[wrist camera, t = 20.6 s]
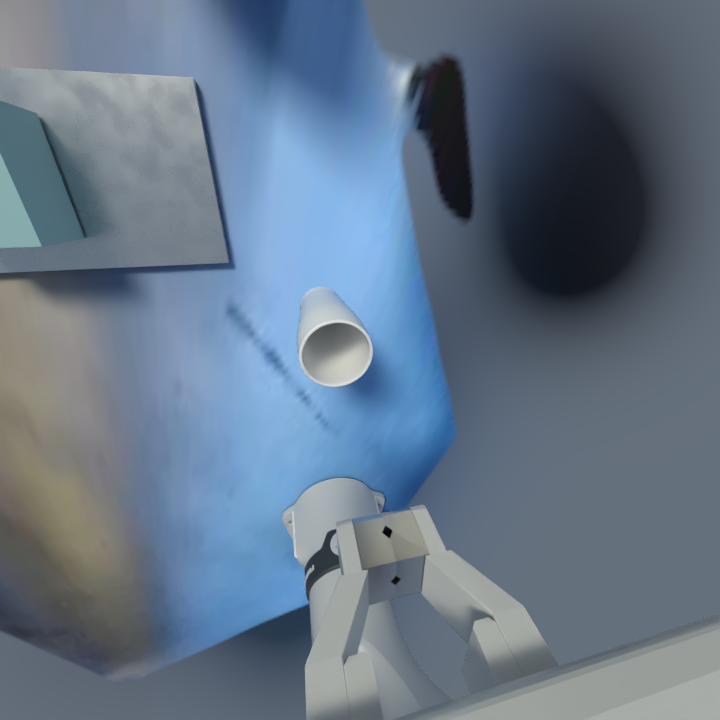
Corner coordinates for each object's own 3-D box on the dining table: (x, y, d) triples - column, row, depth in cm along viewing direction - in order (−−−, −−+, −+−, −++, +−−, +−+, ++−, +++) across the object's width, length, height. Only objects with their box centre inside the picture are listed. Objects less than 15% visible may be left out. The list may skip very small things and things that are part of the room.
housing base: (230, 261, 36) (222, 269, 32) (-118, 276, 30) (-186, 289, 26) (195, 81, 29) (179, 59, 24) (-271, 56, 23) (-401, 23, 19)
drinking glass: (342, 332, 43) (367, 389, 30) (292, 327, 41) (294, 387, 28) (350, 282, 40) (381, 322, 27) (296, 275, 38) (301, 315, 25)
